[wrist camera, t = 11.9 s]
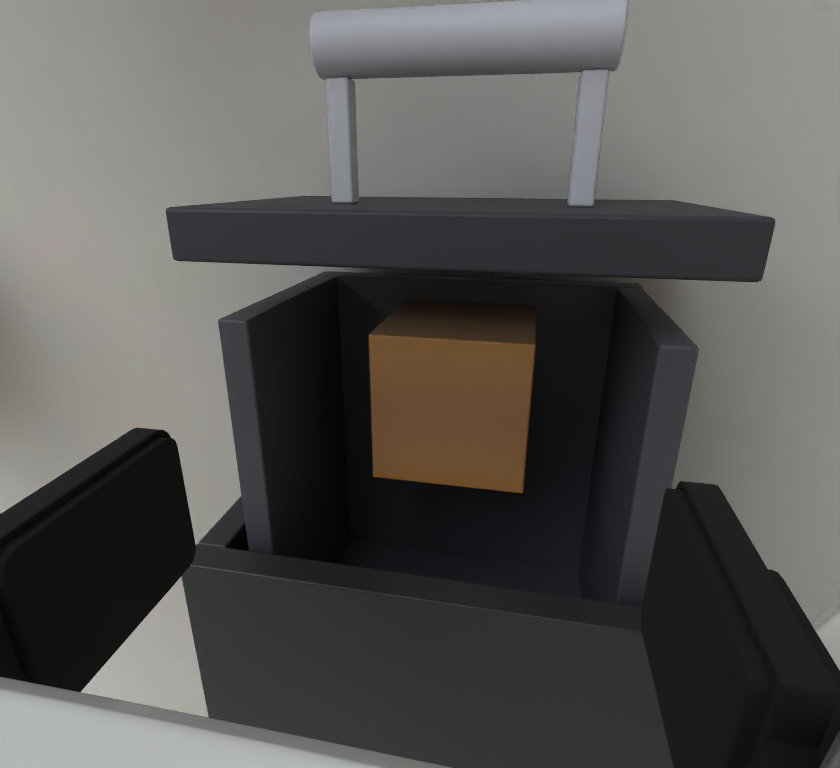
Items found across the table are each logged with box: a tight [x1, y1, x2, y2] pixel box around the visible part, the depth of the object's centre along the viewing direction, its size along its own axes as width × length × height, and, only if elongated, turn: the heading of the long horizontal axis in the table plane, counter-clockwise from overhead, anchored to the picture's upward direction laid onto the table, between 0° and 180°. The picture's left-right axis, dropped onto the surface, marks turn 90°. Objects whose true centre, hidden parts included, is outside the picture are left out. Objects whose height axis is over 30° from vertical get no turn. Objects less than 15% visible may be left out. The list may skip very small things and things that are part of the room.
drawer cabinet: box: [182, 496, 674, 768], centre depth 21 cm, size 16×14×10 cm
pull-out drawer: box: [166, 0, 775, 607], centre depth 16 cm, size 19×13×8 cm, turn 0°
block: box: [369, 300, 536, 493], centre depth 17 cm, size 4×4×4 cm
